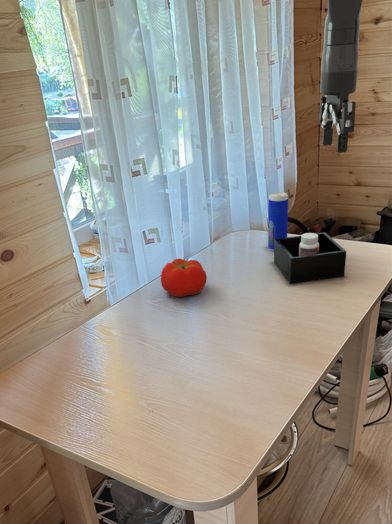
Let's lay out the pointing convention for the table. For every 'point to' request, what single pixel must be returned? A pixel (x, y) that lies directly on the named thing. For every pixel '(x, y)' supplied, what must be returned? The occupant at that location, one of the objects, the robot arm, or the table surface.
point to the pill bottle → (309, 244)
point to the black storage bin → (309, 259)
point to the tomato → (183, 277)
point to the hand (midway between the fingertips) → (334, 148)
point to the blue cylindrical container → (277, 217)
